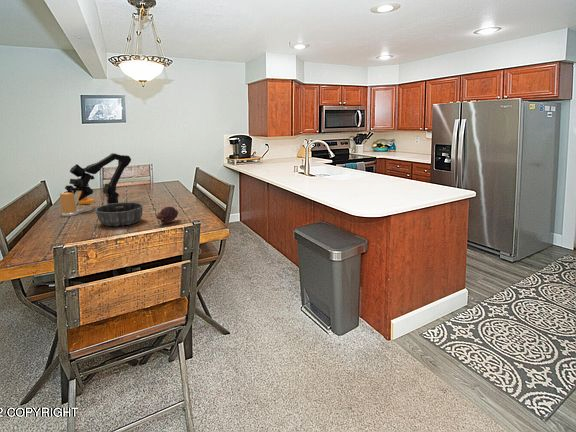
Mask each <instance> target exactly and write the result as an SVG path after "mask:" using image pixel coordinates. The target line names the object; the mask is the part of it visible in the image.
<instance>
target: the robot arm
mask: <svg viewBox="0 0 576 432" xmlns="http://www.w3.org/2000/svg"><path fill="white" fill-rule="evenodd" d="M115 160H117V161H118V162H117V167H116V169H115V171H114V173H113V175H112V177H111V179H110V181H109V182H108V183H105V184H104V186H103V187H102V192H103V194H104V195H105V197H107V199H106V202H107V203H106V205H107V204H114V203H119V195H120V194H119V193H118V192H116V191H117V184H118V182H119V180H120V178H121V176H122V175H123V172H124V170H125V169H126V168H127V167H129V165H130V163H131V162H132V158H131V156H129V155H127V154H126V155H125V154H122V155H121V154H119V153H113V152H112V153H110V154H109V155H107V156H105V157H104V158H103V159H100V160H99V161H97V162H95V163H92V164H89V165H87V166H86V167H81V166H80V165H79V164H75V165H73V166H72V167H70V170H69V173H71V174H72V175H74V176H75V177H77V178H69V184H70V185H65V187H64V189H65V190H66V191H67V193H74V195H76V193H77V192H79V191H81V192H82V193H81V195H80V197H79V196H78V197H79V199H78V200H79V201H80V200H82V199H83V198H85V197H88V196H91V195H93V193H94V189H92V188H91V187H90V186H89V183H90V181H92V180H95V176H94V175H96V174H97V173H99V172H100V171H101V170H102V168H104V167H105V166H107V165H108V164H110V163H112V162H113V161H115Z"/></svg>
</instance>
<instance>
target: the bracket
mask: <svg viewBox="0 0 576 432" xmlns="http://www.w3.org/2000/svg"><path fill="white" fill-rule="evenodd" d="M81 193H82V192H81V191H78V199H79V197H80V195H81ZM77 202H78V205H92V204H94V202H95V198H89V197H88V196H87V197H85V198H83V199H82V200H80V201H79V200H78V201H77Z"/></svg>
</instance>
